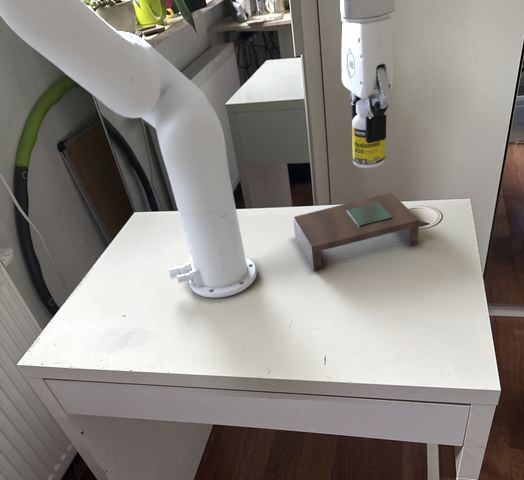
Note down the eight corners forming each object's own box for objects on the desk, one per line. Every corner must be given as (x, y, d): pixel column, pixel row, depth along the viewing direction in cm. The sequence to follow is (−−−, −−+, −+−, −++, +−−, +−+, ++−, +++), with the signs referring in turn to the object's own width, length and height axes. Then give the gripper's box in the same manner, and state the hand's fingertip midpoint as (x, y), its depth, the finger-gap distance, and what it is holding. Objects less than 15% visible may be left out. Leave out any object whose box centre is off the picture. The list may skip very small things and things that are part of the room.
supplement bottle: (349, 169, 88) (348, 108, 81) (356, 155, 91) (355, 96, 85) (382, 169, 86) (383, 107, 79) (387, 155, 89) (388, 95, 83)
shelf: (313, 270, 94) (311, 246, 91) (295, 239, 103) (292, 215, 100) (417, 244, 96) (419, 218, 92) (390, 215, 105) (391, 191, 101)
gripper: (323, 2, 79) (329, 123, 91) (364, 20, 67) (366, 158, 79) (370, -9, 80) (370, 114, 92) (420, 8, 67) (413, 147, 79)
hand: (368, 133), depth 85 cm, fingers closed on supplement bottle, 5 cm apart
